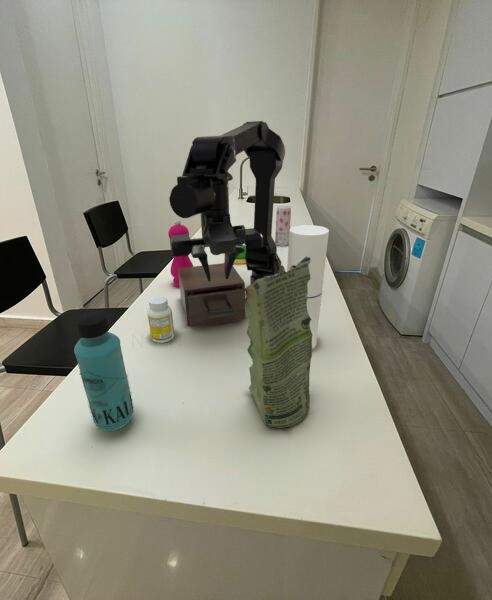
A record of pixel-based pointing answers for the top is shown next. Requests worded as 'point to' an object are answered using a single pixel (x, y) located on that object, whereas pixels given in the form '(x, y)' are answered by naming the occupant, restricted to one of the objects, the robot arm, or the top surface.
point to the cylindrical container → (310, 265)
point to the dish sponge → (241, 257)
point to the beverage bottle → (103, 372)
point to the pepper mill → (179, 260)
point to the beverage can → (282, 225)
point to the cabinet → (205, 282)
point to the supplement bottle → (160, 319)
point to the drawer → (216, 306)
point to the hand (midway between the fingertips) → (217, 279)
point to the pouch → (280, 344)
